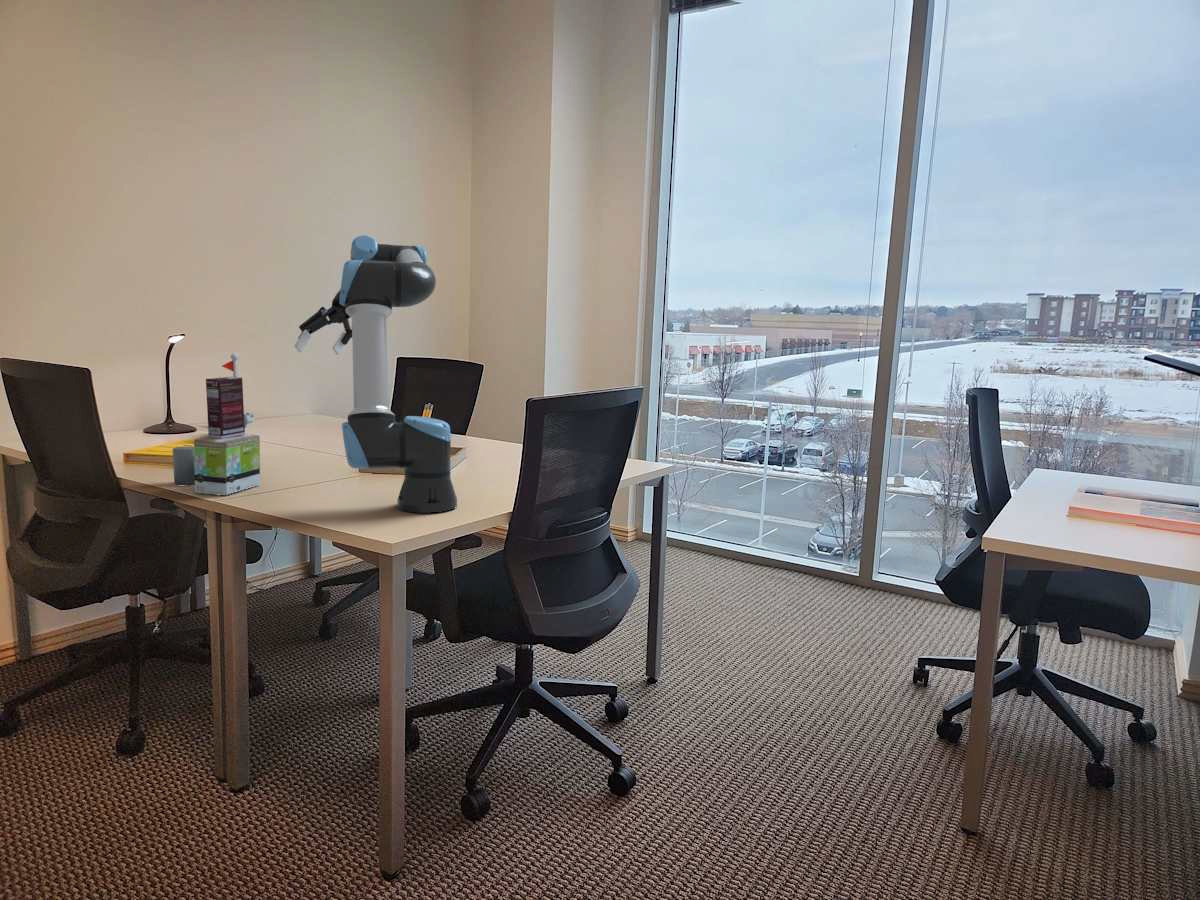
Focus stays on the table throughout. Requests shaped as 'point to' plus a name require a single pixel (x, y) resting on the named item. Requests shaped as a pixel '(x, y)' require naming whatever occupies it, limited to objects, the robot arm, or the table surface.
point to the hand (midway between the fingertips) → (316, 350)
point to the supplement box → (225, 407)
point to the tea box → (226, 464)
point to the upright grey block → (184, 465)
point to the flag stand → (233, 367)
